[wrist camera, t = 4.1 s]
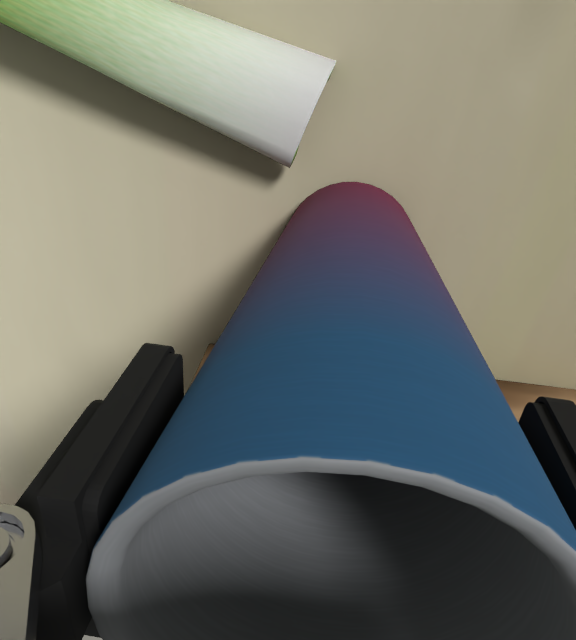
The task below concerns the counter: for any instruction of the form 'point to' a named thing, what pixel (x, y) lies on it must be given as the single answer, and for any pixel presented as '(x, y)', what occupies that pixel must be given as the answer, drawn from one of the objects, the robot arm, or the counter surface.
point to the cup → (340, 465)
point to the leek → (187, 64)
